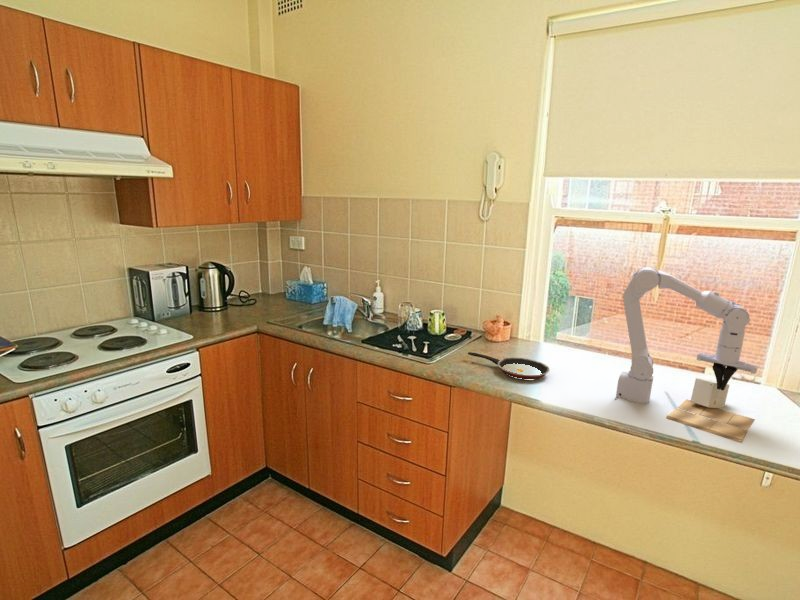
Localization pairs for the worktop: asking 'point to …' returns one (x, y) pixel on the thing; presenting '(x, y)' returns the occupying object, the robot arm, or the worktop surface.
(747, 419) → the laid board
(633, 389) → the robot arm
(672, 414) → the plank
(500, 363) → the frying pan
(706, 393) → the small box
